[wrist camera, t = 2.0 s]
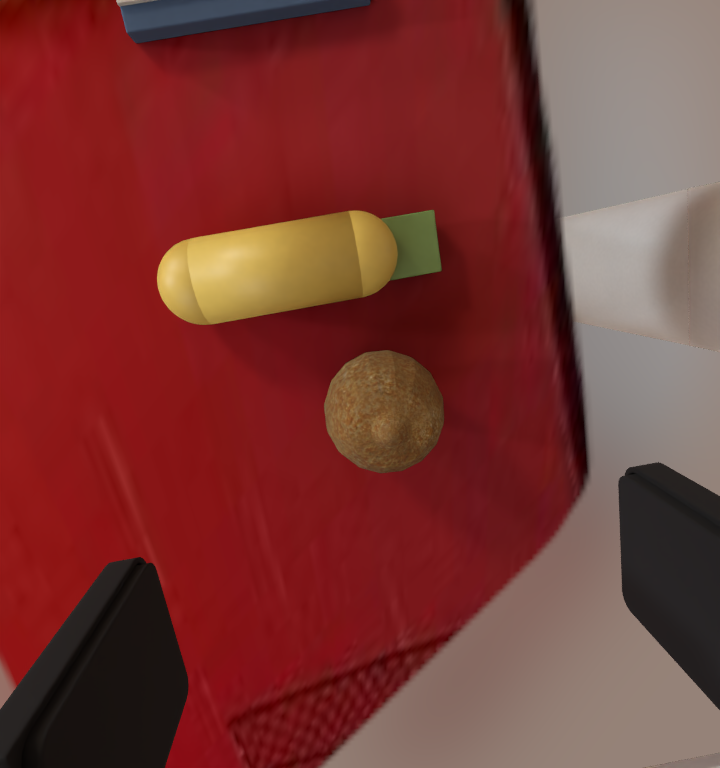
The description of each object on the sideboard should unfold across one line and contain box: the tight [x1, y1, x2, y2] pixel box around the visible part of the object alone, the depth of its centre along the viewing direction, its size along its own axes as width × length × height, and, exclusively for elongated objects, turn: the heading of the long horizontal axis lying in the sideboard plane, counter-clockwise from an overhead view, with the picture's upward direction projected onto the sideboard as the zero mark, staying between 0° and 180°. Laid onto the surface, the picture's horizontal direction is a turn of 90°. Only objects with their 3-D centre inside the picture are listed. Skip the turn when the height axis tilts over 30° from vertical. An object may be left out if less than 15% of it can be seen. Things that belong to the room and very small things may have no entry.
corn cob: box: [157, 210, 442, 325], centre depth 25 cm, size 15×4×4 cm, turn 100°
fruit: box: [324, 350, 444, 473], centre depth 25 cm, size 6×6×8 cm
